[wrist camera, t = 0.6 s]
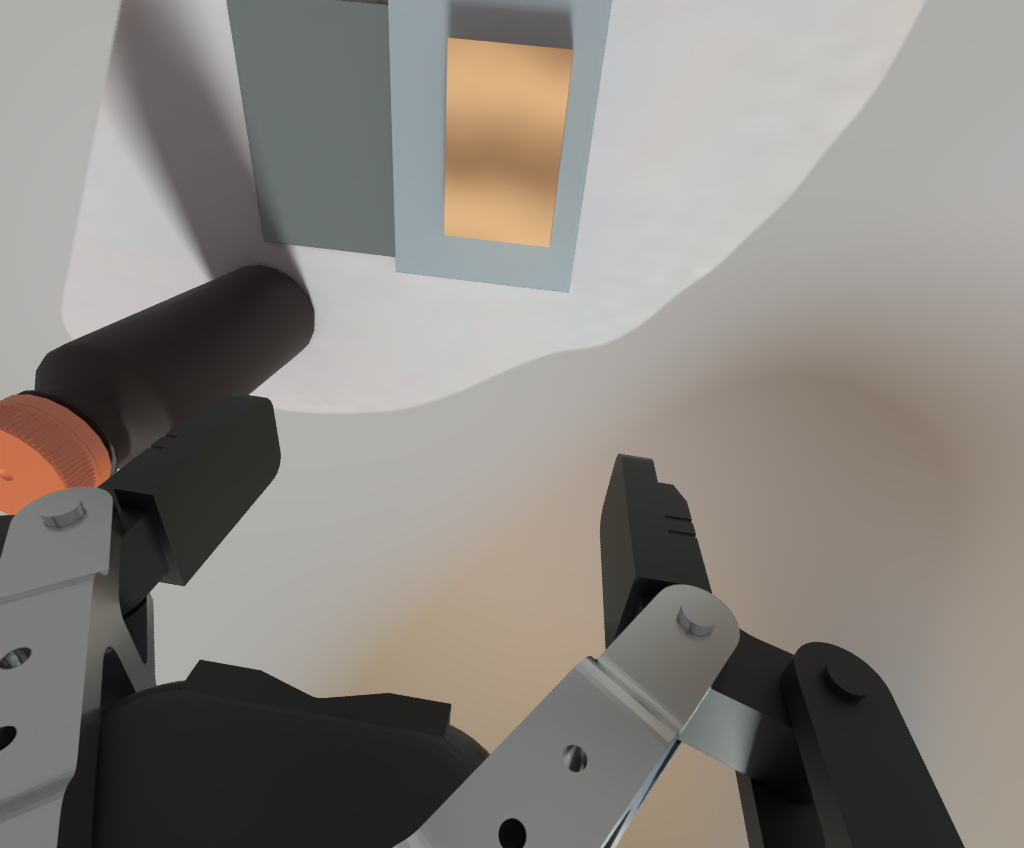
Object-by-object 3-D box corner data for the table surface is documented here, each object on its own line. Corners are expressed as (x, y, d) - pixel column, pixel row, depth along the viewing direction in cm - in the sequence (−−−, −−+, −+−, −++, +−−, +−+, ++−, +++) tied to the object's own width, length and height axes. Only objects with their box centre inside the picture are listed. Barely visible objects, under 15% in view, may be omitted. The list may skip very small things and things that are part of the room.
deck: (398, -57, 26) (385, -69, 24) (616, -38, 25) (619, -49, 23) (405, 264, 34) (396, 272, 32) (569, 284, 33) (568, 293, 32)
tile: (456, 43, 26) (447, 37, 24) (573, 54, 26) (573, 49, 24) (451, 228, 31) (444, 235, 29) (550, 240, 30) (549, 247, 29)
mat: (227, -10, 28) (224, -11, 27) (396, 6, 27) (394, 5, 27) (266, 240, 34) (264, 241, 34) (402, 256, 34) (400, 257, 34)
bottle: (229, 247, 35) (-108, 369, 18) (324, 287, 35) (88, 441, 18) (221, 333, 38) (-67, 504, 21) (308, 368, 39) (97, 561, 22)
